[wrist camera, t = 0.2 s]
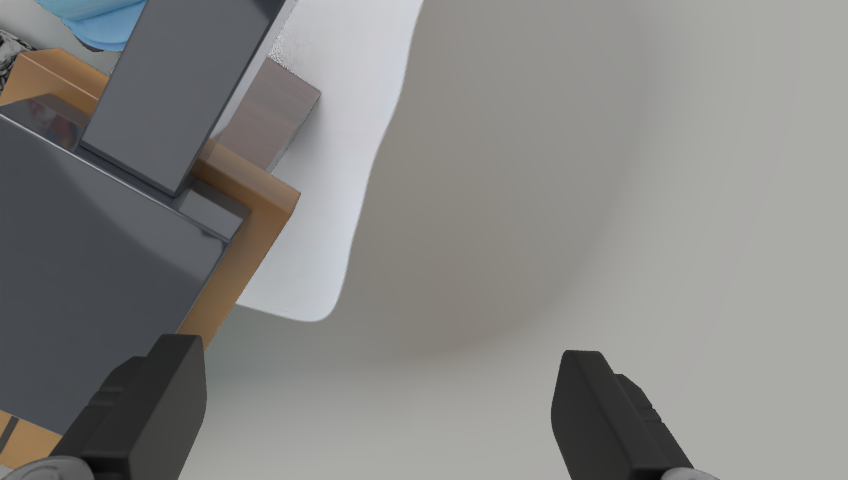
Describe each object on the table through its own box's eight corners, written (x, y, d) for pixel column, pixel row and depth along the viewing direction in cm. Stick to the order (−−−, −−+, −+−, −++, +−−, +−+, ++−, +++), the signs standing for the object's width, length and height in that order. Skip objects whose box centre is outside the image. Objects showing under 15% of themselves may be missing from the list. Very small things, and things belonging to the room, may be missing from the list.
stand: (261, 21, 43) (16, 51, 14) (351, 82, 45) (292, 213, 17) (182, 164, 47) (-136, 413, 18) (268, 214, 49) (104, 507, 20)
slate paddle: (205, -258, 12) (164, -319, 10) (430, -78, 14) (439, -94, 12) (-53, 314, 17) (-121, 361, 15) (136, 399, 19) (101, 454, 16)
